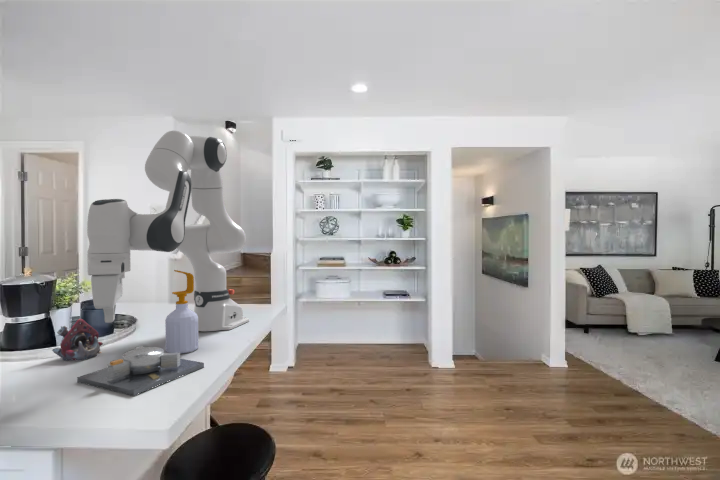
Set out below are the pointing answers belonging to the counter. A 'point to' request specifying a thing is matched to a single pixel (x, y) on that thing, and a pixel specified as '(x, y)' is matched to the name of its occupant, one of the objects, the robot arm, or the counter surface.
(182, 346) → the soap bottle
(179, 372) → the base plate
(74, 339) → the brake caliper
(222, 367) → the counter surface
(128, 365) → the grey disc housing
